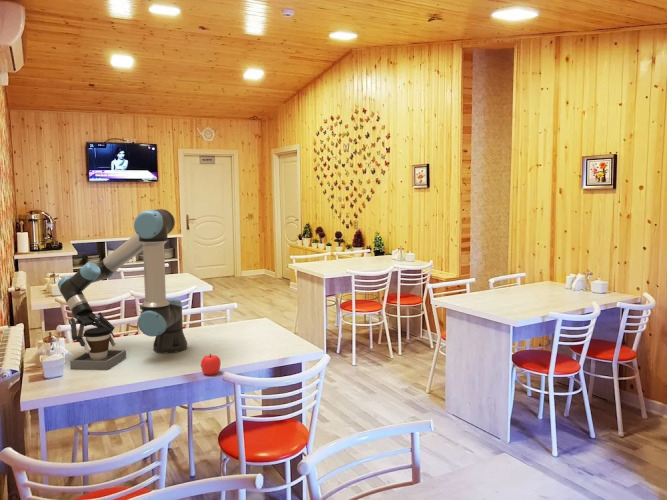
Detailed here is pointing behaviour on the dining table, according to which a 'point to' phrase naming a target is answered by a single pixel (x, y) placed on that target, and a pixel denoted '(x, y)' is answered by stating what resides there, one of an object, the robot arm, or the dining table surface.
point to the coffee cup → (98, 342)
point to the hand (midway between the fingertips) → (102, 348)
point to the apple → (210, 364)
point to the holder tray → (98, 361)
